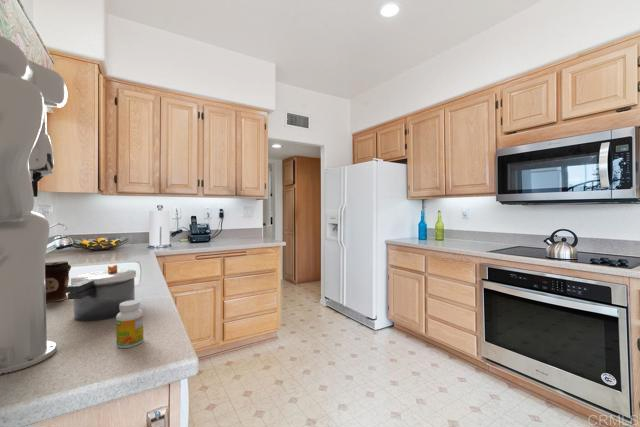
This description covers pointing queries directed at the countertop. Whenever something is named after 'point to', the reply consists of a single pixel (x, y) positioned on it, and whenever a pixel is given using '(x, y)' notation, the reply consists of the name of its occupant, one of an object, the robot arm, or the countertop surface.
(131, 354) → the countertop surface
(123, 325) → the supplement bottle
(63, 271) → the coffee cup
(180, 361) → the countertop surface
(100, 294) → the cooker pot
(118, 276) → the cooker lid
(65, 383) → the countertop surface
